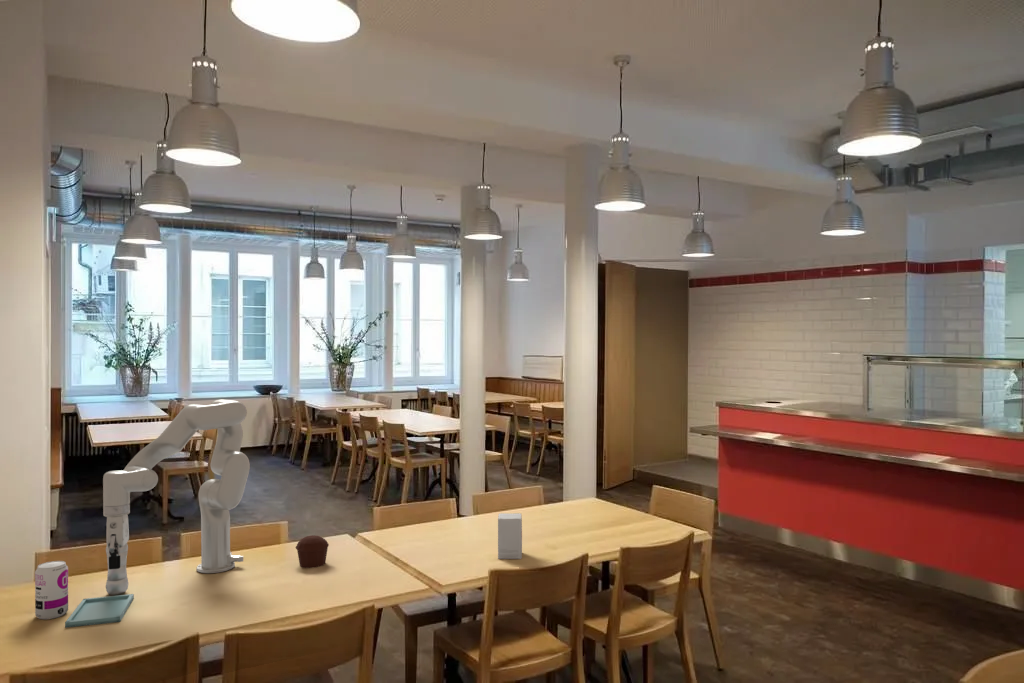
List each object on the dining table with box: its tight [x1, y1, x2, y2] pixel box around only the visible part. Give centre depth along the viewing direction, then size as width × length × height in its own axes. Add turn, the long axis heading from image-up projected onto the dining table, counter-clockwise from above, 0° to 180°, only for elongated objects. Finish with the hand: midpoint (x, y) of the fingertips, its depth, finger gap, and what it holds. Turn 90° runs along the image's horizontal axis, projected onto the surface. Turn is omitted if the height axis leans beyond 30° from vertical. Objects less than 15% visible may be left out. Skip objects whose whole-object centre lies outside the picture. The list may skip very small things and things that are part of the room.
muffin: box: [295, 535, 330, 569], centre depth 264 cm, size 12×11×10 cm
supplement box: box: [497, 512, 523, 560], centre depth 273 cm, size 9×9×15 cm
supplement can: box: [34, 560, 69, 620], centre depth 216 cm, size 8×8×15 cm
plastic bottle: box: [105, 542, 129, 596], centre depth 235 cm, size 6×7×20 cm
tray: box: [64, 593, 135, 629], centre depth 218 cm, size 14×20×2 cm
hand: (117, 564), depth 235 cm, fingers closed on plastic bottle, 6 cm apart
